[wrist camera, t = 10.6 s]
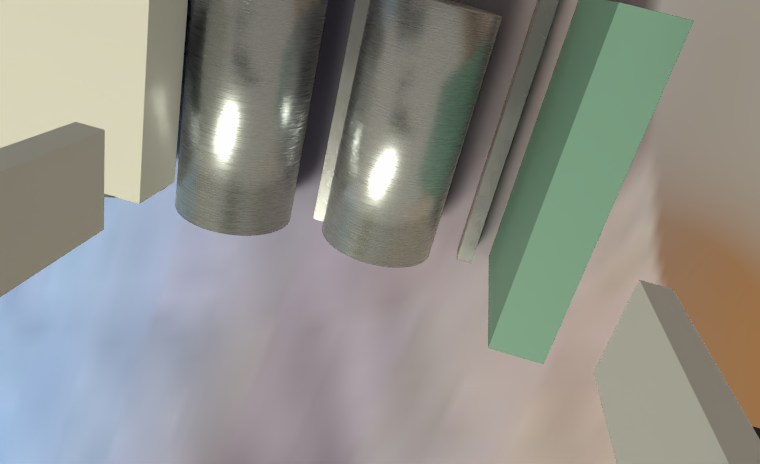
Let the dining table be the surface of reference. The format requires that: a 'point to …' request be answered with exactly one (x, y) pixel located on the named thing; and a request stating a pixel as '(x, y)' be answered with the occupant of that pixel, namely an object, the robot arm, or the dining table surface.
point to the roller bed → (246, 111)
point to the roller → (406, 126)
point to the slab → (98, 81)
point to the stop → (576, 166)
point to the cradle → (501, 137)
